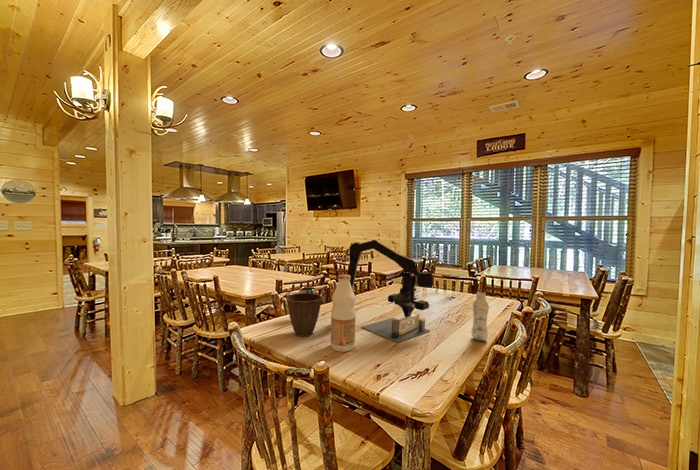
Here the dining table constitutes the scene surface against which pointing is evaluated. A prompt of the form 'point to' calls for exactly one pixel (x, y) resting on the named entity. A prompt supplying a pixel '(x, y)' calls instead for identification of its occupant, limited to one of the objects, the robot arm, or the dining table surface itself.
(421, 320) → the post
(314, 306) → the plant pot
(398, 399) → the dining table surface
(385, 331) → the mat
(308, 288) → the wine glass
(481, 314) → the plastic bottle
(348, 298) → the fruit juice
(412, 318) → the gate
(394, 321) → the hinge post
